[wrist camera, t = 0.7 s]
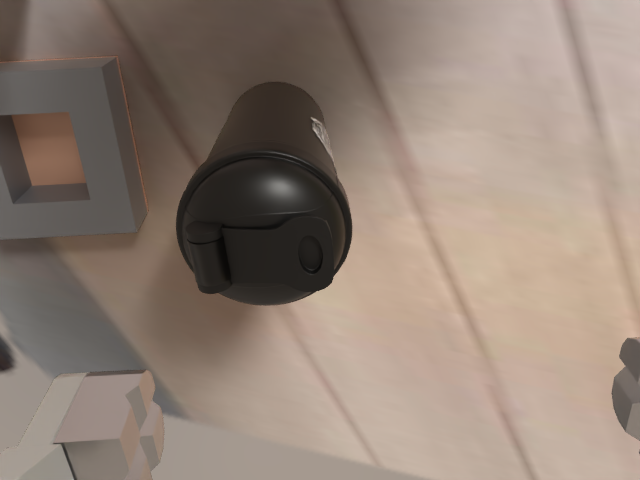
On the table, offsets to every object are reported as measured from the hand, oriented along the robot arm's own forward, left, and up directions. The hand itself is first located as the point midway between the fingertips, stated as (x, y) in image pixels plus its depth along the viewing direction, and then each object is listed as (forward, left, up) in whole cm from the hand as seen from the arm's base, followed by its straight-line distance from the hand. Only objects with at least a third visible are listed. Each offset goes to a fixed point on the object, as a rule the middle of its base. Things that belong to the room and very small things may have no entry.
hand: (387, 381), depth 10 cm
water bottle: (+8, -4, -43) cm, 43 cm away
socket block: (+8, -23, -42) cm, 49 cm away
